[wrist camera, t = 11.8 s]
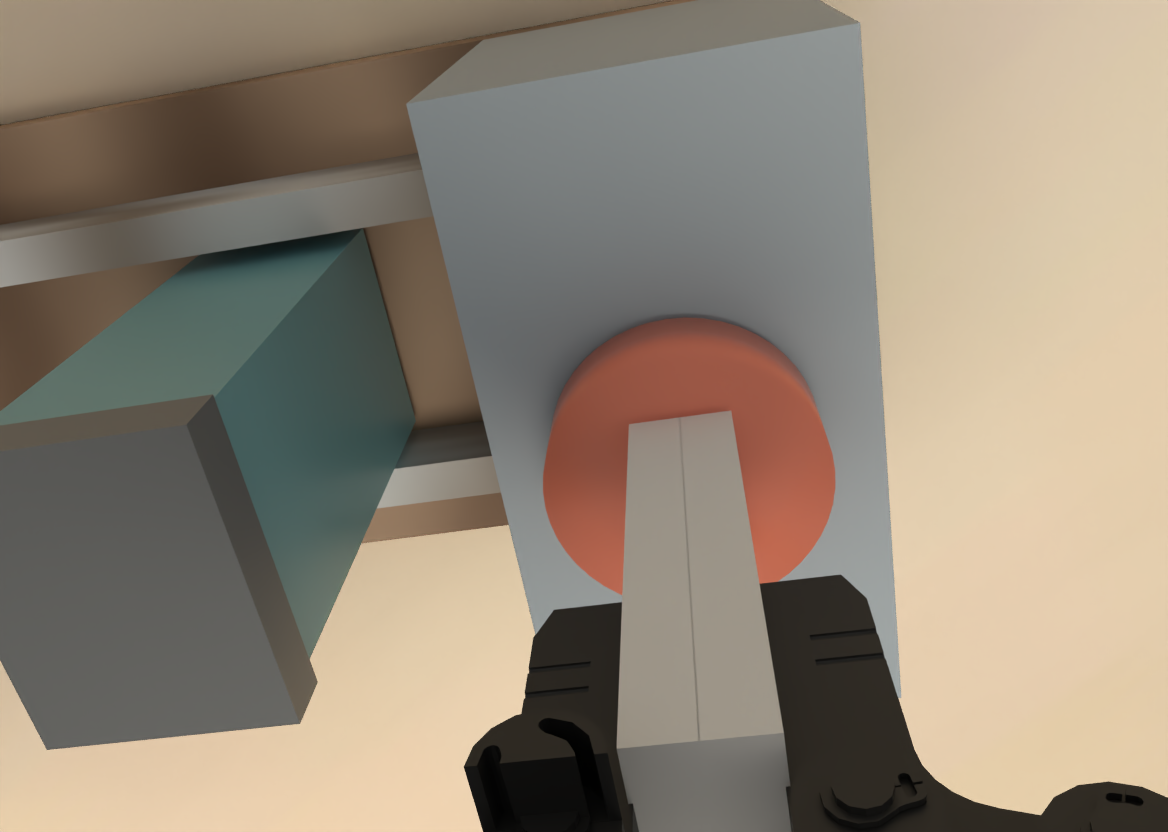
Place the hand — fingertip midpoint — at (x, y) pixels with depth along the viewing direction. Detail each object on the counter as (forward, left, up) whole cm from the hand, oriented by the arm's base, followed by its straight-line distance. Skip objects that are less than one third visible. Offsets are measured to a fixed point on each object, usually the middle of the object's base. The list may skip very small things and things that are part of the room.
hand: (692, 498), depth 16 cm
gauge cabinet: (0, 0, -11) cm, 11 cm away
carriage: (-9, 0, -10) cm, 13 cm away
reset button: (0, 0, -4) cm, 4 cm away
